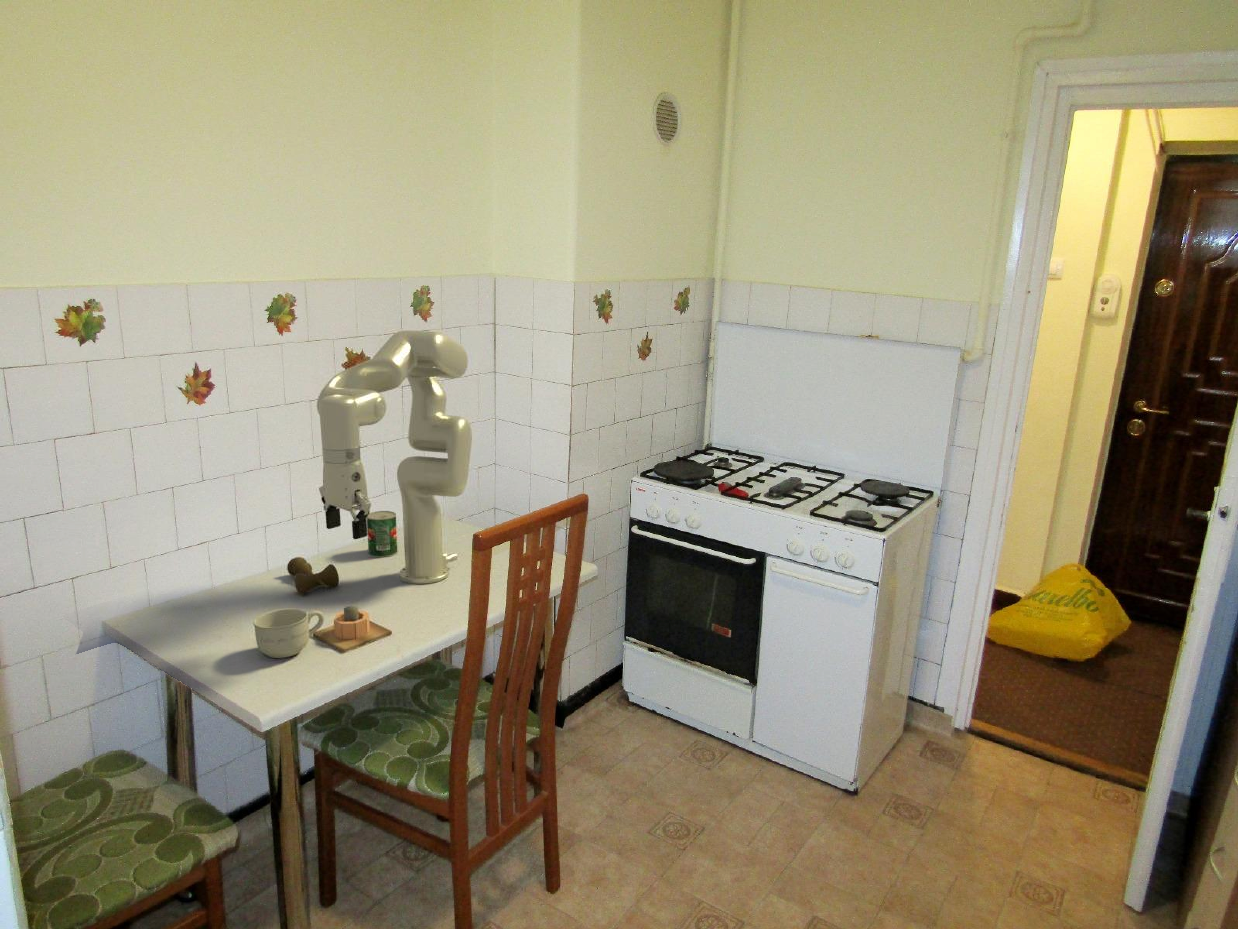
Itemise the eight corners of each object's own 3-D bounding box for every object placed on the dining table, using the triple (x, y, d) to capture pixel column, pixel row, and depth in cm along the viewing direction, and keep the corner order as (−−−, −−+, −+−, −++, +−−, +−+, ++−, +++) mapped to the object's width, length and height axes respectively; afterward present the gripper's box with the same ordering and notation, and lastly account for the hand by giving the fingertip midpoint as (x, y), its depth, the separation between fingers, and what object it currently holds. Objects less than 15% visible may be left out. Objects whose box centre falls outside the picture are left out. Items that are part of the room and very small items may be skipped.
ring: (356, 622, 199) (355, 607, 198) (375, 631, 195) (374, 616, 194) (329, 632, 194) (328, 617, 193) (347, 642, 190) (346, 626, 189)
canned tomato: (363, 552, 246) (361, 514, 243) (388, 546, 251) (387, 508, 248) (377, 559, 240) (375, 521, 237) (403, 553, 245) (401, 515, 243)
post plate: (360, 619, 203) (358, 593, 201) (391, 634, 195) (390, 607, 194) (313, 636, 194) (311, 609, 192) (344, 652, 186) (342, 624, 185)
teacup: (257, 667, 180) (254, 631, 178) (255, 645, 189) (252, 610, 187) (328, 655, 185) (326, 620, 183) (323, 634, 195) (321, 601, 193)
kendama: (315, 572, 232) (347, 593, 217) (278, 581, 226) (308, 604, 211) (313, 550, 231) (344, 570, 216) (276, 559, 225) (305, 580, 210)
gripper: (381, 458, 182) (386, 537, 186) (333, 445, 193) (339, 519, 197) (350, 465, 176) (355, 546, 181) (302, 451, 187) (308, 527, 191)
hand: (346, 532), depth 189 cm, fingers open, 9 cm apart
